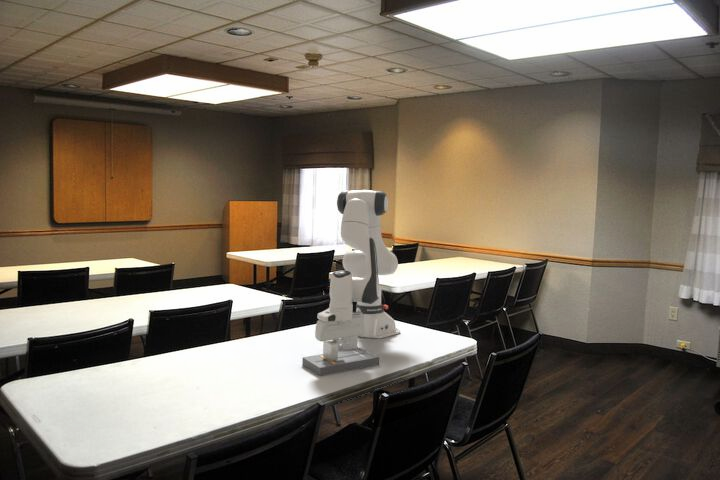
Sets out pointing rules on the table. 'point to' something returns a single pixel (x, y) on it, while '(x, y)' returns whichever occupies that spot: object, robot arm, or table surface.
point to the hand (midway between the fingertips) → (340, 349)
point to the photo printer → (350, 343)
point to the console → (341, 361)
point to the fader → (330, 350)
